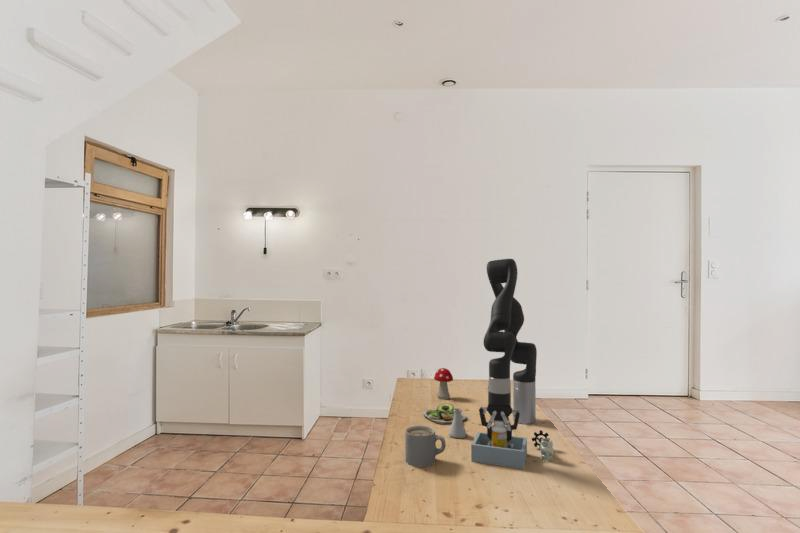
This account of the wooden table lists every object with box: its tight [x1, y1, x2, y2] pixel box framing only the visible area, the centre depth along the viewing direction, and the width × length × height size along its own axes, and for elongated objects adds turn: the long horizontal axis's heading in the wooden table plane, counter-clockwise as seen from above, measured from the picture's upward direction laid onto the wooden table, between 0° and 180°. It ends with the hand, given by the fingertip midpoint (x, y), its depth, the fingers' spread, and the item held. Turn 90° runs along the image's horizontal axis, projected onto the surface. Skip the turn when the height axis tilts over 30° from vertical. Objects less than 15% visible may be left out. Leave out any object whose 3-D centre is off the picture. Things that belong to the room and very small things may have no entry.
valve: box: [531, 429, 554, 462], centre depth 154 cm, size 7×7×12 cm
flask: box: [448, 408, 468, 439], centre depth 173 cm, size 7×7×10 cm
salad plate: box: [423, 402, 467, 425], centre depth 193 cm, size 19×18×5 cm
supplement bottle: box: [491, 420, 508, 448], centre depth 152 cm, size 5×5×10 cm
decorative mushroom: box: [433, 367, 454, 400], centre depth 225 cm, size 10×9×15 cm
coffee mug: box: [404, 425, 447, 468], centre depth 149 cm, size 13×10×10 cm
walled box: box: [470, 431, 528, 470], centre depth 152 cm, size 13×17×6 cm
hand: (499, 439), depth 152 cm, fingers closed on supplement bottle, 5 cm apart
